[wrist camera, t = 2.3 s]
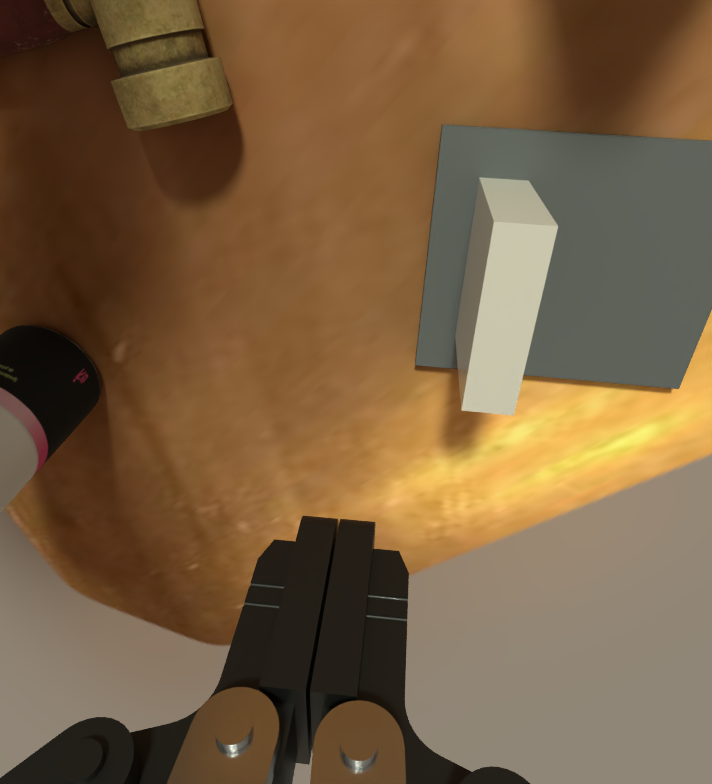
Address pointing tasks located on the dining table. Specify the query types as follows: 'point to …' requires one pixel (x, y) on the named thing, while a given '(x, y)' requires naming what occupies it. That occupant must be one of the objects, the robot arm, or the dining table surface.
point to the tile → (501, 292)
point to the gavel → (133, 52)
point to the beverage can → (39, 400)
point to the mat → (586, 249)
